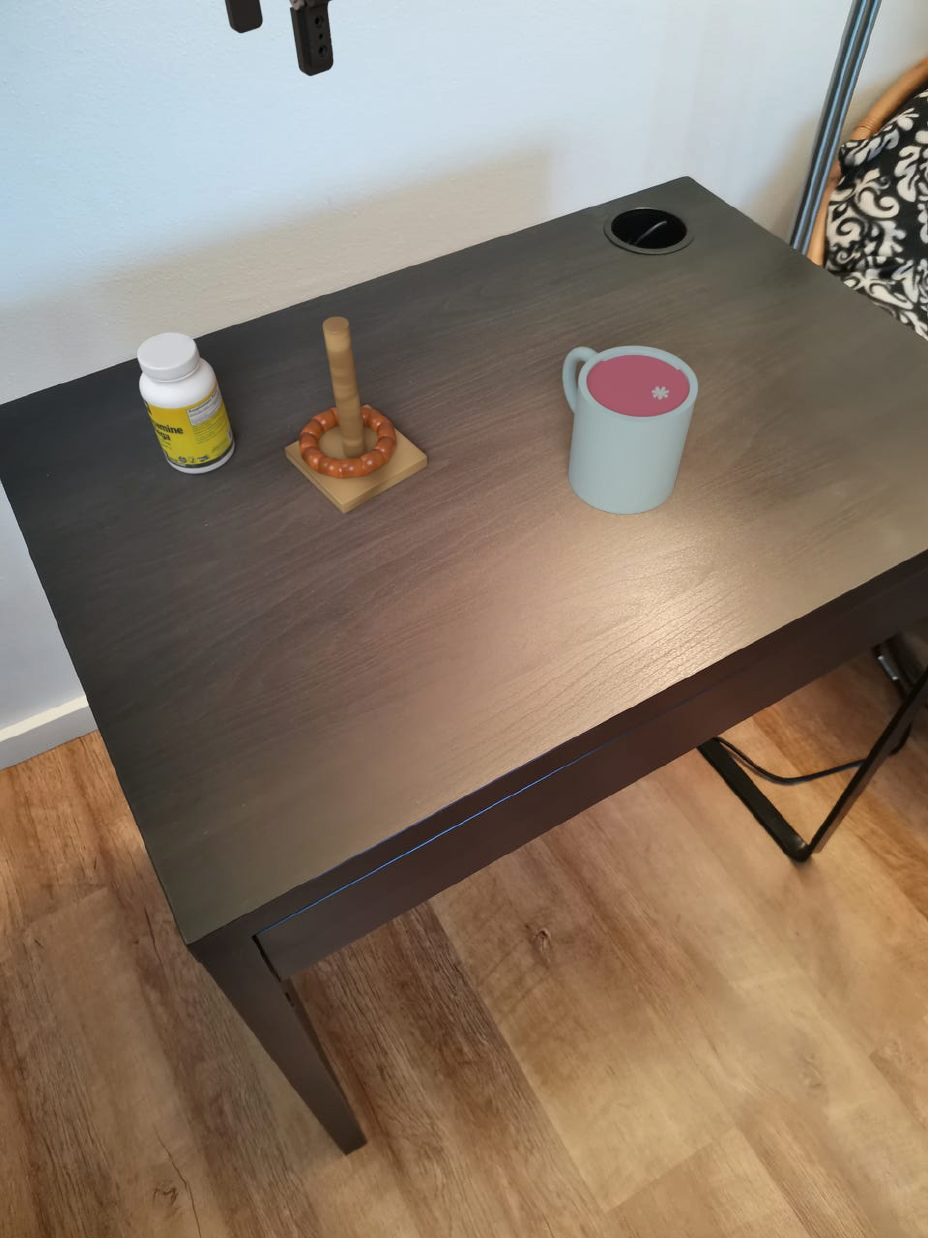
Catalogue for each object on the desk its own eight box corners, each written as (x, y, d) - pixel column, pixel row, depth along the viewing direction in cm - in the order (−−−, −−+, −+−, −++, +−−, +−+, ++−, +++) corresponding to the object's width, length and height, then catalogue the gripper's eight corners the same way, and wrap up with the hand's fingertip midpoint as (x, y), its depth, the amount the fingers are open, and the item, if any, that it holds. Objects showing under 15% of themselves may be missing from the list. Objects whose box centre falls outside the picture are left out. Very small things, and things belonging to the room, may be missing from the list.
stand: (344, 514, 74) (319, 378, 63) (286, 457, 79) (253, 319, 67) (428, 465, 78) (419, 328, 66) (368, 413, 82) (350, 275, 70)
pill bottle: (152, 453, 79) (110, 351, 70) (208, 419, 82) (174, 315, 73) (194, 487, 77) (156, 384, 68) (250, 450, 79) (221, 347, 70)
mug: (697, 487, 76) (723, 394, 68) (609, 529, 73) (625, 438, 65) (602, 397, 83) (615, 304, 75) (519, 433, 80) (523, 340, 72)
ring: (338, 496, 74) (335, 483, 73) (282, 444, 78) (279, 431, 77) (416, 450, 77) (414, 436, 76) (358, 402, 81) (356, 388, 80)
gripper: (94, -312, 47) (178, 31, 60) (231, -271, 40) (291, 104, 54) (217, -330, 50) (272, 2, 63) (364, -294, 43) (391, 68, 56)
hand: (281, 49), depth 58 cm, fingers open, 8 cm apart
